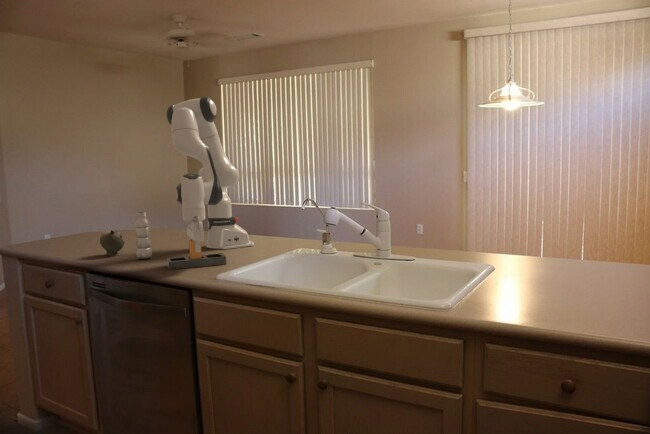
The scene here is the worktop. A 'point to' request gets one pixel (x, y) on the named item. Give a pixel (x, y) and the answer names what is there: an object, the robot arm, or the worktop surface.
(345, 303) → the worktop surface
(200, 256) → the orange block
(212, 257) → the grey compartment tray
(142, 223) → the plastic bottle
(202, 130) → the robot arm
